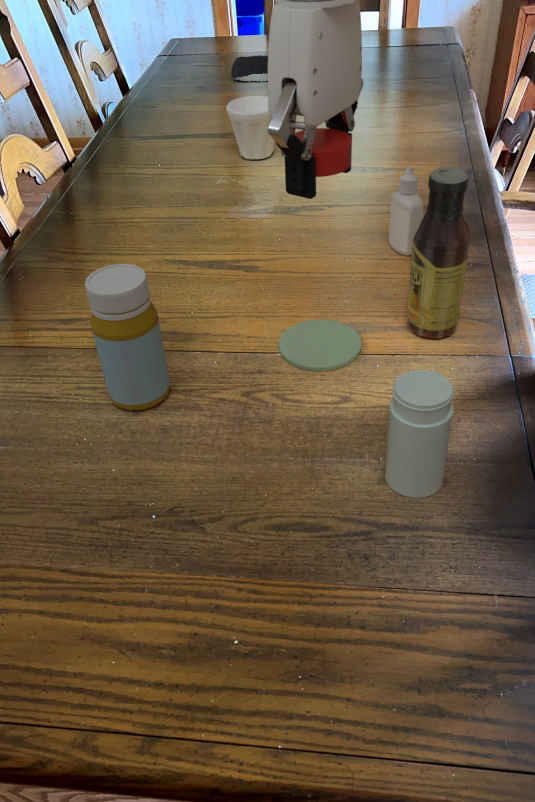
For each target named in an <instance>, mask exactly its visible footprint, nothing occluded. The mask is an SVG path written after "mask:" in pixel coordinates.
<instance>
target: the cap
mask: <svg viewBox="0 0 535 802" xmlns="http://www.w3.org/2000/svg"><path fill="white" fill-rule="evenodd" d="M304 132H305V130H299V131H297V132H296V131H295V136H297V137H298V138H299V140H300V141H301V142H302V143H303V137H304ZM311 157H315V158H316V178H323V177H331V176H335V175H339V174H341V173H342V174H343V172H344V171H345V170H347V169H348V168H349V167H350V165H351V166H352V157H351V137H350V135H349V134H347V133H345V132H343V131H340V130H336V129H329V128H327V127H318V128H316V134H315V139H314V144H313V150H312V155H311Z"/></svg>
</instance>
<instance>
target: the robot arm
mask: <svg viewBox="0 0 535 802" xmlns="http://www.w3.org/2000/svg"><path fill="white" fill-rule="evenodd" d="M274 3H275V4H273V5H272V7H271V14H270V15H271V16H270V23H269V30H268V31H269V32H268V44H267V45H268V47H267V55H268V82H267V96H268V111H269V117H270V120H271V121H270V124H269V127H268V133H269V135H270V136H271V137H272V138H273V140H274V141H275V144H276V146H277V148H279V149H280V155H281V156H282V157H284V178H285V179H284V181H285V192H286V194H288V195H292V196H295V197H299V198H305V199H308V200H312V199H314V198H315V197H316V196H317V177H316V158H315V157H311V155H312V150H313V144H314V139H315V134H316V128H317V127H319V126H320V125H322V124H323V123H324V125H325V128H328V129H336V130H340V131H343V132H345V133H347V134H349V135H350V137H351V158H353V157H352V155H353V153H352V151H353V150H352V149H353V133H352V132H353V131H354V129H355V126H356V122H355V113H356V111H357V109H358V105H359V102H358V100H359V97H360V95H361V93H362V90H363V87H364V79H363V77H362V74H363V71H362V70H363V35H362V17H361V16H362V14H361V3H360V0H274ZM297 116H300V117H303V122H302V121H297ZM296 130H300V131H302V130H305V132H304V137H303V143H302V142H301V141H300V140H299V138H298V137H297V136H295V133H296ZM351 170H352V164H351V165H350V167H349V168H348V169H347V170H345V171H344V172H342V174H343V173H344V174H348V173H349V172H351Z"/></svg>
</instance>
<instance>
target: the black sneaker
mask: <svg viewBox="0 0 535 802" xmlns="http://www.w3.org/2000/svg"><path fill="white" fill-rule="evenodd" d="M263 73H264V74H265V73H266V74H268V54H267V55H250V56H238V57H236V58H235V59H234V61H232V65H231V78H232V77H234V78H237V77H243V76H248V75H251V74H263Z"/></svg>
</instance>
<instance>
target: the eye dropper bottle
mask: <svg viewBox="0 0 535 802" xmlns="http://www.w3.org/2000/svg"><path fill="white" fill-rule="evenodd" d="M418 182H419V178H418V176H417V175H416V174H414V170H413V166H407V167H406V169H405V173H404V174H401V175H400V176H399V185H398V190H395V191H393V192H392V194H391V197H390V207H389V208H390V209H389V223H388V225H389V226H388V244H389V246H390V247H391V249H392V250H393V251H395V252H396V253H398V254H400V255H402V256H406V257H408V256H412V248H413V239H414V236H415V234H416V232H417V230H418V228H419V226H420V224H421V221H422V219H423V217H424V202H423V199H422V198H421V196H420V194H418V192H417V191H418Z"/></svg>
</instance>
